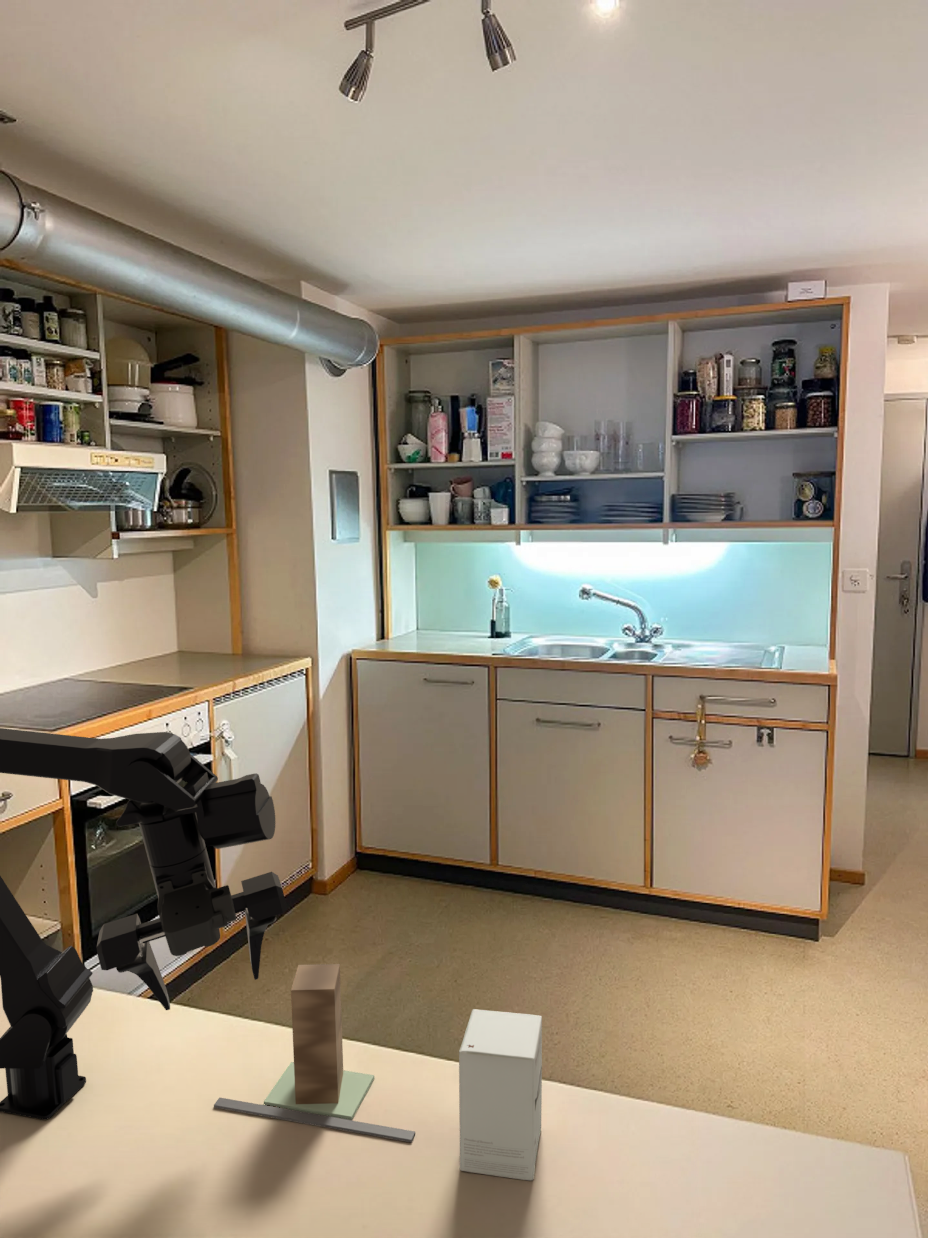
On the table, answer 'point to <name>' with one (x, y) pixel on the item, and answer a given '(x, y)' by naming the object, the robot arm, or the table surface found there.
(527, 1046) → the supplement box
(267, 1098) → the mat
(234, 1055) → the table surface
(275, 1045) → the table surface
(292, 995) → the walnut post
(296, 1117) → the charcoal strip
